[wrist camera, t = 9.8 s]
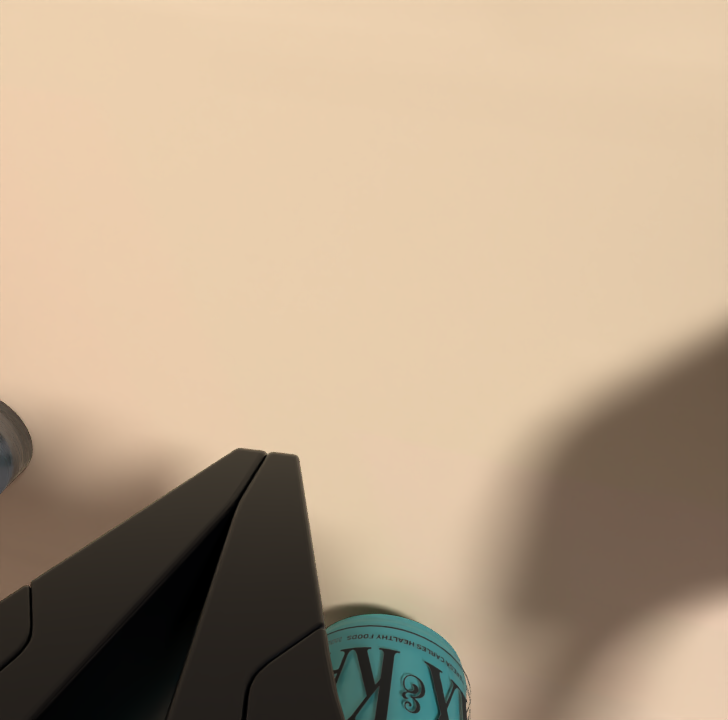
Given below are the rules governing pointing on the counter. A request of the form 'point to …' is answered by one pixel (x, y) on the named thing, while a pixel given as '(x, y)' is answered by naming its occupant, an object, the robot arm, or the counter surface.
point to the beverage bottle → (395, 670)
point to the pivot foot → (12, 446)
